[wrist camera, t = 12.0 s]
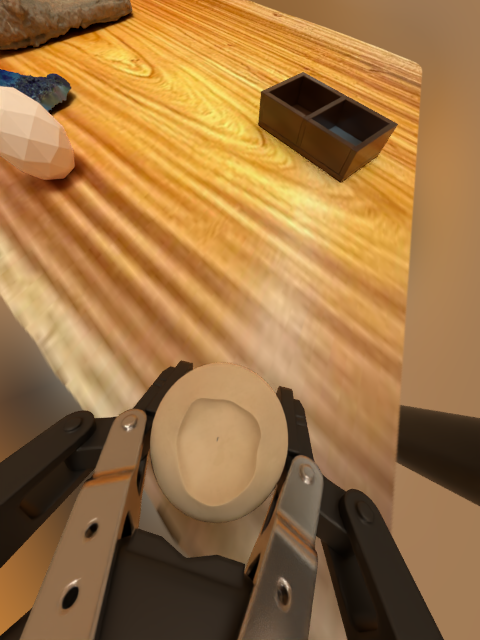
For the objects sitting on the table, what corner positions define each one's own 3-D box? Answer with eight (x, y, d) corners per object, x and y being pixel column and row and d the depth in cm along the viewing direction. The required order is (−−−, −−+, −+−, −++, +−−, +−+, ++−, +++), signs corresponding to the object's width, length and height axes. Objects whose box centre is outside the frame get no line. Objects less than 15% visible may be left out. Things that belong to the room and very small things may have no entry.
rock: (83, 92, 31) (72, 74, 29) (7, 151, 26) (-11, 134, 24) (20, 75, 33) (6, 57, 31) (-61, 127, 28) (-83, 109, 26)
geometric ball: (78, 182, 28) (60, 108, 23) (85, 191, 24) (63, 101, 19) (3, 168, 23) (-38, 73, 19) (-7, 176, 19) (-63, 53, 14)
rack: (377, 155, 27) (398, 124, 24) (340, 182, 25) (357, 151, 22) (295, 105, 31) (303, 71, 28) (258, 125, 29) (260, 91, 26)
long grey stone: (146, 28, 42) (125, 19, 45) (135, -19, 37) (112, -26, 40) (-19, 61, 33) (-33, 46, 35) (-63, 2, 28) (-77, -9, 30)
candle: (189, 384, 16) (114, 393, 6) (247, 361, 16) (259, 337, 7) (208, 453, 14) (147, 610, 4) (271, 424, 15) (333, 508, 5)
